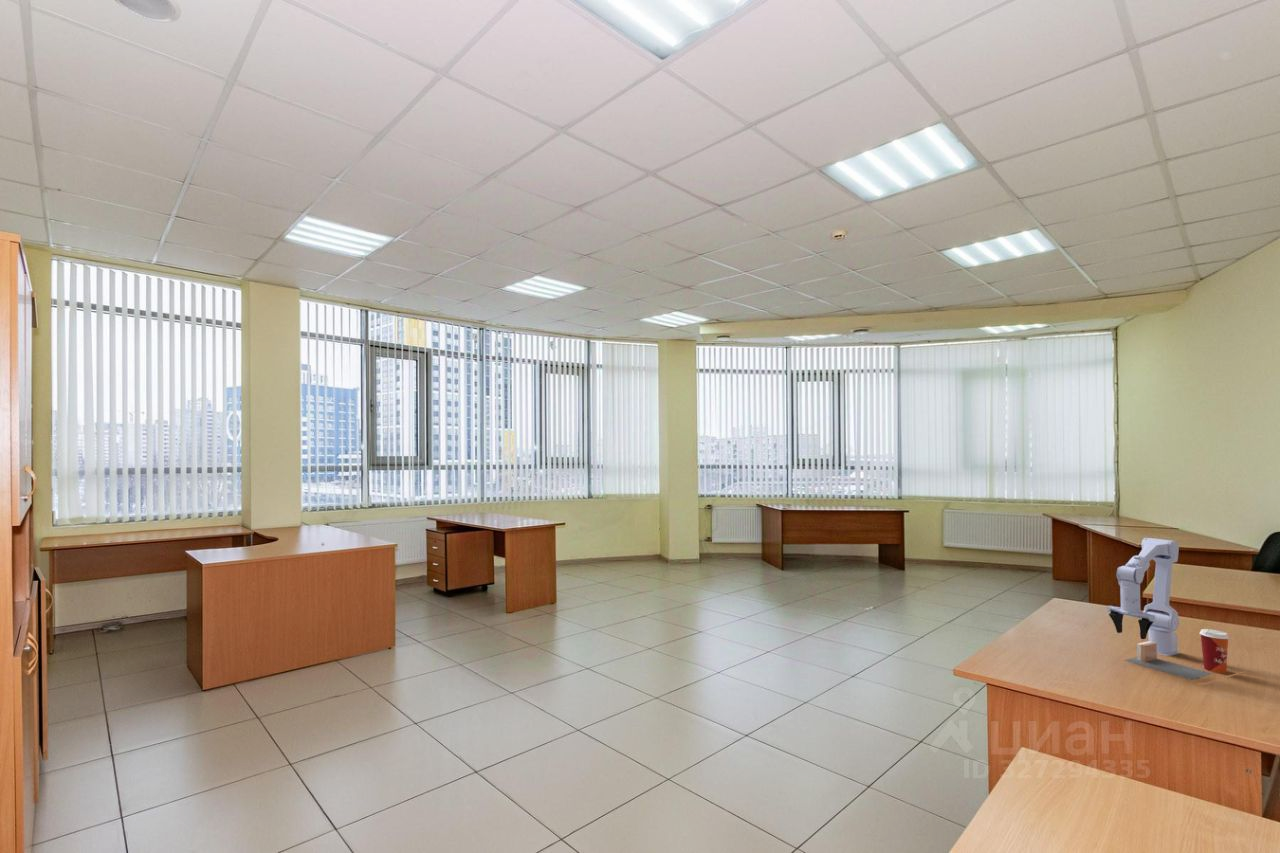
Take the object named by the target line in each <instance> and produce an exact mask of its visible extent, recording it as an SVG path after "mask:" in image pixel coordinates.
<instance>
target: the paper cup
mask: <svg viewBox="0 0 1280 853" xmlns="http://www.w3.org/2000/svg"><path fill="white" fill-rule="evenodd" d="M1199 635H1200V642H1201V651H1202V660H1203V669H1204V670H1206V671H1207V672H1208V671H1209V672H1211V673H1218V674H1226V673H1227V665H1228V646H1229V645H1228V644H1229V639H1230V637H1229V635H1228V633H1227V632H1225V631H1221V630H1218V629H1217V630H1215V629H1210V628H1209V629H1208V628H1202V629H1200V632H1199Z"/></svg>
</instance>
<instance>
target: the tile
mask: <svg viewBox="0 0 1280 853" xmlns="http://www.w3.org/2000/svg"><path fill="white" fill-rule="evenodd" d="M1157 655H1158V653H1157V643H1155V642H1151V641H1149V640H1148V641H1142V642H1139V643H1136V657H1137V660H1139V661H1143V662H1147V661H1151V660H1155V659H1157V658H1158V656H1157Z"/></svg>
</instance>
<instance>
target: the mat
mask: <svg viewBox="0 0 1280 853" xmlns="http://www.w3.org/2000/svg"><path fill="white" fill-rule="evenodd" d="M1124 662H1129V663H1133V664H1136V665H1139V666H1142V667H1146V668H1150V669H1153V670H1155V671H1160V672H1163V673H1166V674H1171V675H1174V676H1177V677H1180V678H1184V679H1188V680H1190V681H1191V680H1195V679H1200V678H1202V677H1206V676H1209V675H1213V672H1210V671H1209V672H1208V671H1205V670H1201V669H1197V668H1194V667H1190V666H1187V665H1182V664H1178V663H1177V662H1173V661H1172V662H1171V661H1168V660H1164V659H1161V658H1158V657H1157V659H1155V660H1151V661H1147V662H1143V661H1139V660H1137V656H1136V657H1131V658H1128V659H1124Z"/></svg>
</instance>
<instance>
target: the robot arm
mask: <svg viewBox="0 0 1280 853" xmlns="http://www.w3.org/2000/svg"><path fill="white" fill-rule="evenodd" d="M1141 540H1142V541H1141V550H1140V552H1139V554H1138V555H1133V556H1132V557H1131V558H1129V560H1128V562H1126V563H1125V565H1122V566H1118V567H1117V569H1116V572H1115V573H1116V574H1115V575H1116V578H1117V581H1118V582H1117V583H1118V585H1119V586H1120V587H1119V588H1120V591H1119V592H1120V594H1119V595H1120V606H1114V605H1108V606H1107V607H1106V608H1107V610H1106V611H1107V612H1109V613H1108V616H1109V618H1110V619H1111V620H1112V622H1113V625H1114V626H1115V631H1116V633H1118V634H1121V633H1123V621H1124V620H1123V619H1124V615H1125V616H1128V617H1132V618H1133V617H1134V618H1138V619H1137V621H1138V625H1139V630H1140V632H1139V633H1140V634H1139V636H1140V639H1141V640H1146V639H1147V637H1148V641H1151V642H1155V643H1157V655H1158V654H1159V655H1162V656H1166V657H1169V656H1174V655H1177V654H1181V651H1178V634H1177V633H1176V631H1177V630H1178V629H1179V627H1180V626H1179V625H1180V620H1179V612H1178V611H1177V610H1176V609H1174V607H1172V606H1171V605H1170V597H1171V584H1172V574H1173V572H1172V571H1173V565H1174V563H1177V562H1178V559H1179V550H1180V547H1179V544H1178V543H1177V541H1176V540H1172V539H1171V540H1170V539H1161V538H1152V537H1144V538H1143V539H1141ZM1152 560H1153V561H1154V562H1155V569H1154V570H1155V571H1154V584H1153V592H1152V594H1153V595H1152V602H1150V603H1148V604H1146V605H1144V607H1143V611H1141V608H1142V607H1141V584H1142V583H1143V580H1144V577H1145V572H1146V571H1148V569H1149V567H1150V566H1151V564H1150V562H1151V561H1152ZM1147 635H1148V636H1147Z"/></svg>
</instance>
